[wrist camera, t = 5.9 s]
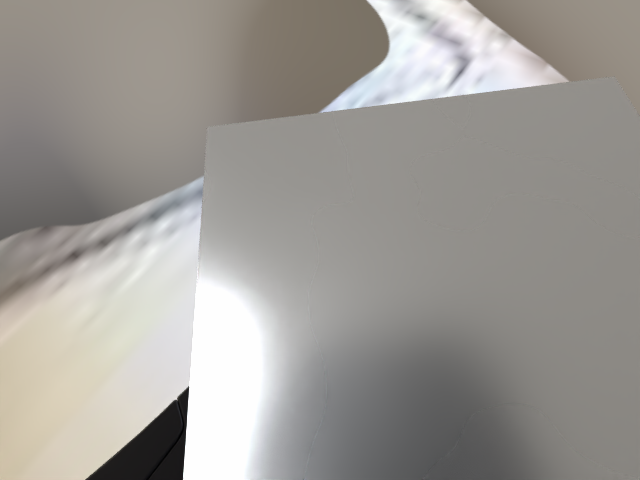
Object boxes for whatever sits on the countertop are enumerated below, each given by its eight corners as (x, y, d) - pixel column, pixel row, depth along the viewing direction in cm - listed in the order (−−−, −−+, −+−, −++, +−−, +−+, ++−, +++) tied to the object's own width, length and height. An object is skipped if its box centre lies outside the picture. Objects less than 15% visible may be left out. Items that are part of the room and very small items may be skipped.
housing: (445, 445, 12) (1197, 1003, 1) (320, 456, 13) (145, 1030, 2) (414, 296, 15) (614, 76, 4) (308, 307, 15) (207, 126, 4)
